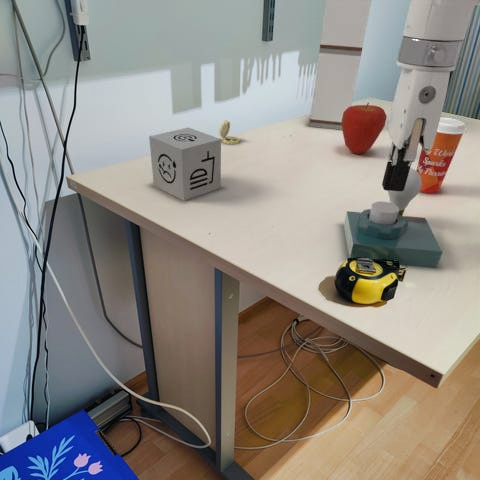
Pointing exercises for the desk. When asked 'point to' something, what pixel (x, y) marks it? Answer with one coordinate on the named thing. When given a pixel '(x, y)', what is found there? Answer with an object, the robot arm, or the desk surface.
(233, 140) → the eyeshadow
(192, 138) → the icon cube
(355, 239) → the teal button base
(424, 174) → the paper cup
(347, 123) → the apple
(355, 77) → the tall brown-striped box
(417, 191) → the light bulb
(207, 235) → the desk surface
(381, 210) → the grey push button
